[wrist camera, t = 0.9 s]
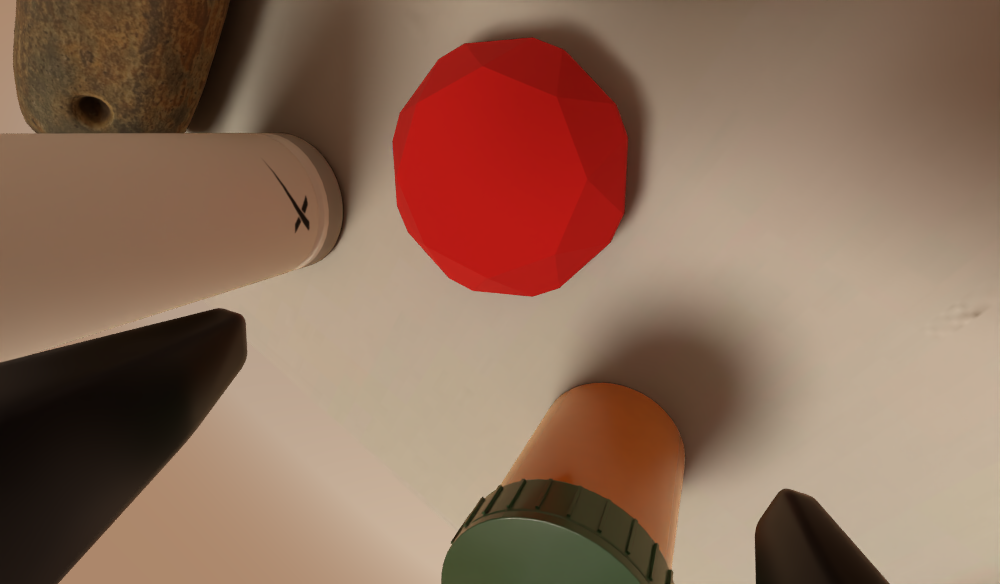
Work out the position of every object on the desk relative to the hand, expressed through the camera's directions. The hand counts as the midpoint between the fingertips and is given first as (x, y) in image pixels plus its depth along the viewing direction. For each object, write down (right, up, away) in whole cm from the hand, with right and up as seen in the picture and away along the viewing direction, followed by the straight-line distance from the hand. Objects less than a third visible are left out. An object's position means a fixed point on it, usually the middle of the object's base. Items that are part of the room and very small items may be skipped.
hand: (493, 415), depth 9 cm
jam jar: (+5, -5, +14) cm, 15 cm away
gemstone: (+1, +7, +12) cm, 14 cm away
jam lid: (+1, -7, +6) cm, 9 cm away
